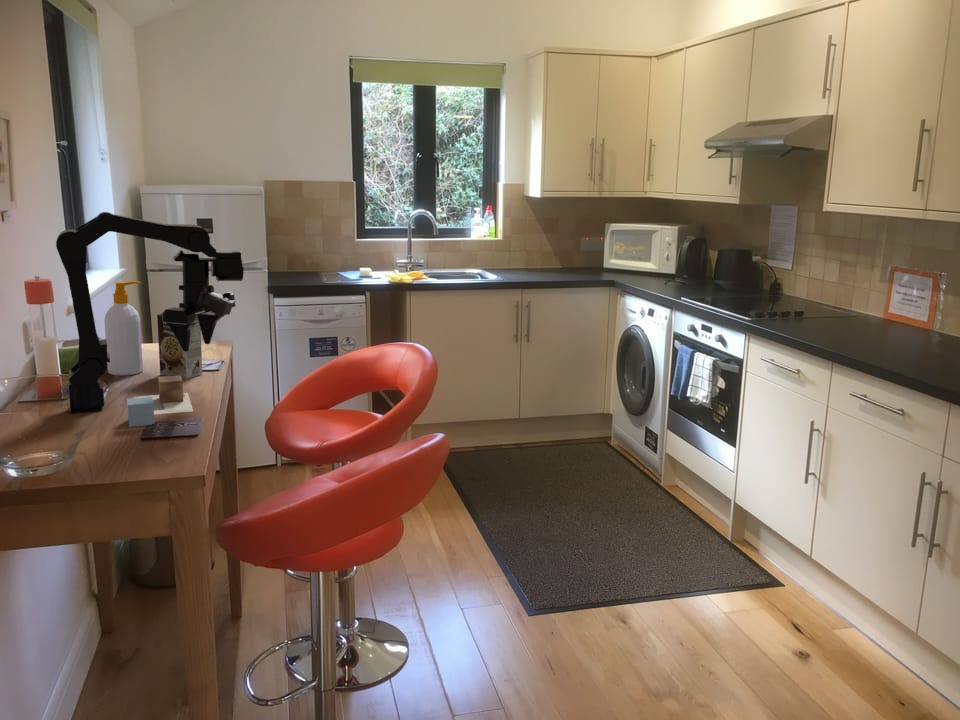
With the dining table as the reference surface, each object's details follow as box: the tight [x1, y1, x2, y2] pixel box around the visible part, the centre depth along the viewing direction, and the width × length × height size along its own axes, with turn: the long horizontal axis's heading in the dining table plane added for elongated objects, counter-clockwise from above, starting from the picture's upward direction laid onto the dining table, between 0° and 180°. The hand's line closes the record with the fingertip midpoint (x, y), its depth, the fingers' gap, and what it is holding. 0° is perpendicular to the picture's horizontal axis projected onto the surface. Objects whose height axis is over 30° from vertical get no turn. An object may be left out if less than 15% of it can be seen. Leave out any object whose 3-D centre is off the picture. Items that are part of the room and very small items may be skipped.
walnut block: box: [157, 376, 184, 403], centre depth 192 cm, size 5×5×5 cm
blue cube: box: [126, 397, 155, 427], centre depth 175 cm, size 5×5×5 cm
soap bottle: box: [104, 280, 144, 377], centre depth 214 cm, size 9×9×24 cm
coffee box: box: [156, 313, 203, 379], centre depth 213 cm, size 9×6×16 cm
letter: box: [133, 392, 194, 415], centre depth 189 cm, size 12×16×1 cm
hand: (196, 347), depth 191 cm, fingers open, 9 cm apart
